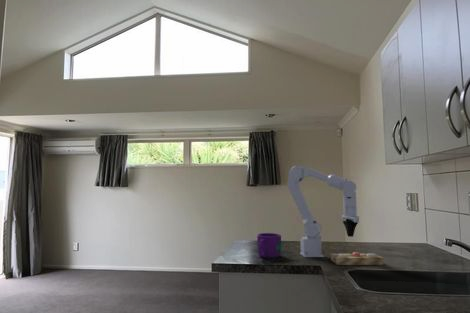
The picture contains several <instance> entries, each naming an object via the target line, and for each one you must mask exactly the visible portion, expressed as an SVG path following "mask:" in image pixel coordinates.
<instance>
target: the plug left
mask: <svg viewBox="0 0 470 313" xmlns="http://www.w3.org/2000/svg"><path fill="white" fill-rule="evenodd" d="M337 254H338V256H339V257H346V254H347V253H337Z"/></svg>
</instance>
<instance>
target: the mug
mask: <svg viewBox="0 0 470 313" xmlns="http://www.w3.org/2000/svg"><path fill="white" fill-rule="evenodd" d="M256 238H257V240H256V241H257V242H256V243H257V253H258V256H260V257H262V258H267V259H273V258H275V259H276V258H279V257H280V255H281V250H282V235H281V234H279V233H273V232H263V233H258V234H257V236H256Z"/></svg>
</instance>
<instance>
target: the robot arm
mask: <svg viewBox="0 0 470 313" xmlns="http://www.w3.org/2000/svg"><path fill="white" fill-rule="evenodd" d="M287 175H288V180H287V187H288V190H289V192H290V194H291V196H292V199H293V201H294V203H295V206H296V207H297V210H298V212H299V214H300V216H301V218H302V224H303V225H304V232H305V236H302V237H301V238H300V255H301V256H302V257H304V258H325V256H324V255H323V254H322V235H321V234H320V233H321V232H322V226H321V224H320V223H319V222H318V221H317V220H316V218H315V216H314V215H313V214H312V211H311V209H310V207H309V205H308V203H307V201H306V199H305V196H304V195H303V192H302V190H301V188H300V184H301V182H302V181H303V179H304V178H308V177H309V178H310V177H312V178H315V179H317V180H319V181H320V180H321V181H323V182H326V184H327V186H329V187H331V188H333V189H337V190H339V191H343V196H342V197H343V201H342V203H343V205H342V206H343V208H342V209H343V214H341V219H342V223H343V225H344V227H345V231H346V235H347V237H350V238H352V237H354V234H355V230H356V227H357V225H358V223H360V216H358V215H357V192H356V190H357V183H356V182H354V181H352V180H348V178H346V177H345V178H344V177H341V176H338V174H336V173H335V174H333V173H332V174H329V175H328V174H325V173H323V172H320V171H318V170H316V169H313V168H310V167H304V166H299V165H293V166H292V167H291V168H290V169H289V172H288V174H287Z"/></svg>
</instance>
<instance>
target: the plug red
mask: <svg viewBox="0 0 470 313" xmlns="http://www.w3.org/2000/svg"><path fill="white" fill-rule="evenodd" d="M352 254H353V257H360V254H361V252H359V251H353V252H352Z"/></svg>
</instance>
